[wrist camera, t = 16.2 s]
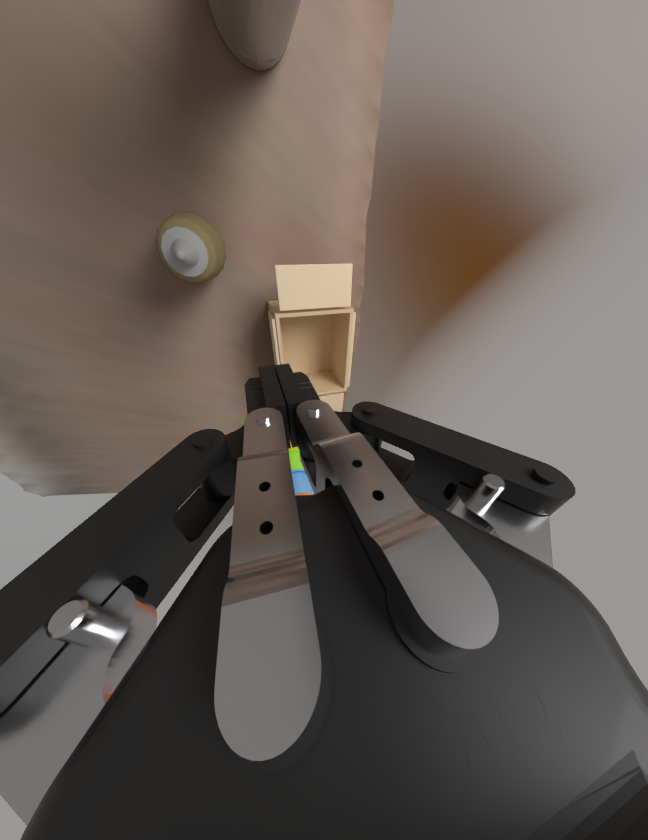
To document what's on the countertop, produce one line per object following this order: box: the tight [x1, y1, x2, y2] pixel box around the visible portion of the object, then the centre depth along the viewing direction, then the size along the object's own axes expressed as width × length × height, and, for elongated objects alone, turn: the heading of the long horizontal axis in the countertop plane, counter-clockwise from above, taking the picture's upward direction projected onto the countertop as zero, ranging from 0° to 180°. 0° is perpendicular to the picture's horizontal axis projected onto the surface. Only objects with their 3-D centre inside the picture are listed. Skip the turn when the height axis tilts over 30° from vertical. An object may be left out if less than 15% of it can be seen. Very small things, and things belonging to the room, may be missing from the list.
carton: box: [268, 300, 356, 395], centre depth 47 cm, size 17×15×10 cm
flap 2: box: [319, 393, 344, 412], centre depth 51 cm, size 1×12×6 cm
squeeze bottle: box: [156, 211, 226, 282], centre depth 30 cm, size 8×8×18 cm
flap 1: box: [275, 264, 352, 311], centre depth 36 cm, size 1×12×6 cm
